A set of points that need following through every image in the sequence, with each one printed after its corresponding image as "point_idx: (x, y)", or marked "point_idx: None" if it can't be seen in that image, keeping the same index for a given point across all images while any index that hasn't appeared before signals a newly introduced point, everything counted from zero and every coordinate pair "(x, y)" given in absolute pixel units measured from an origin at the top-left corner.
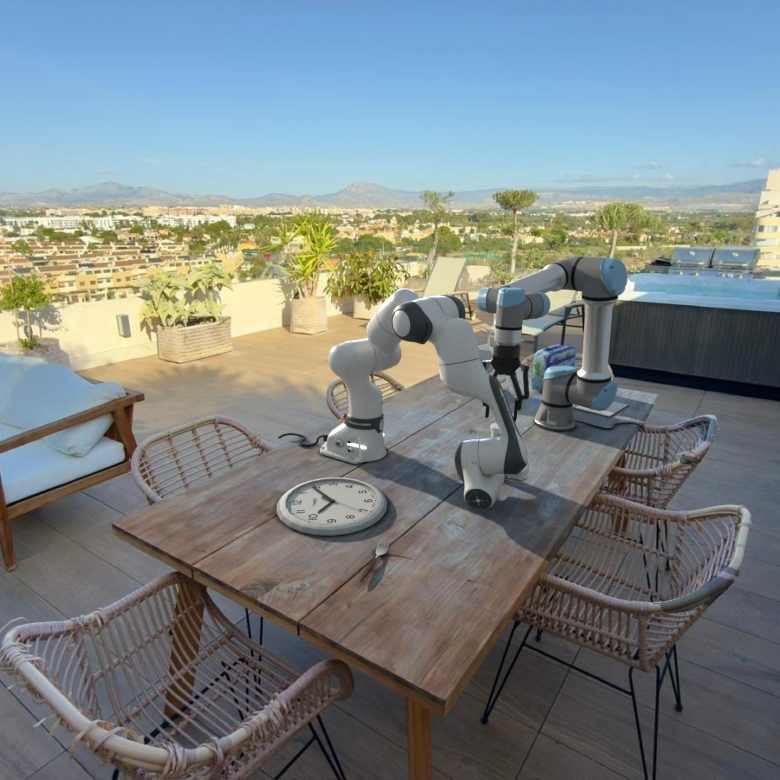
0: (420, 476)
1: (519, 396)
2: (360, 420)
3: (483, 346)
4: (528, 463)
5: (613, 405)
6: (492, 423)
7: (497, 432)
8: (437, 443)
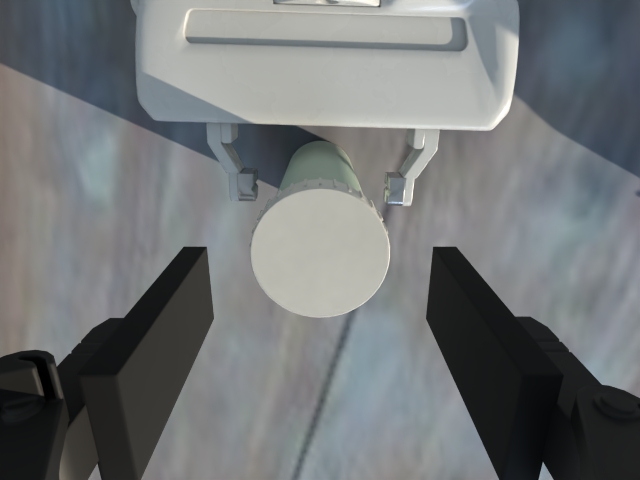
0: (632, 49)
1: (7, 437)
2: None
3: None
4: (141, 100)
5: None
6: (381, 280)
7: (328, 181)
8: None
